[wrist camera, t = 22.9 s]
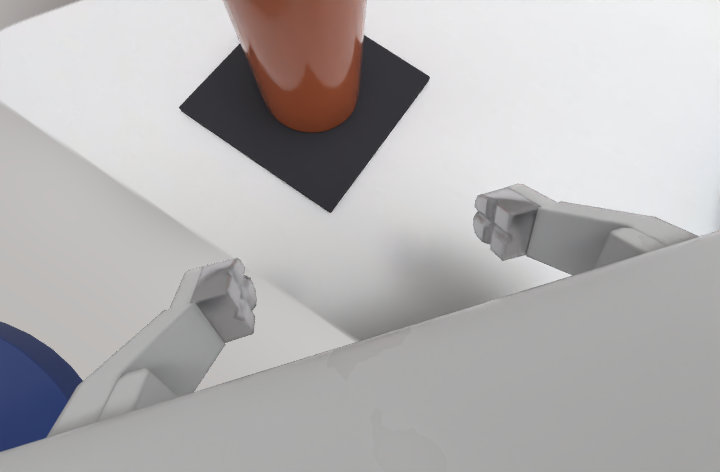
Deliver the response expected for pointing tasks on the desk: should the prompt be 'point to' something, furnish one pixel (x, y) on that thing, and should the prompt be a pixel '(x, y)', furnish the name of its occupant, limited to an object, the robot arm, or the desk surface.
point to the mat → (304, 149)
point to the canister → (303, 57)
